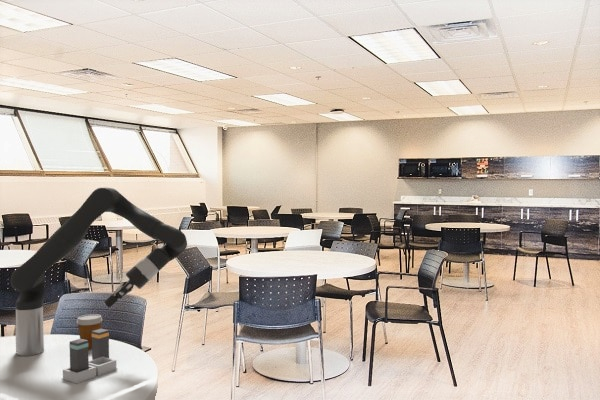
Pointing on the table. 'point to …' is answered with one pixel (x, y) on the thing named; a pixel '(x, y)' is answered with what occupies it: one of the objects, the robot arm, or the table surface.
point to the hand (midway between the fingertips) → (106, 304)
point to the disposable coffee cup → (88, 326)
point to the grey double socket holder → (90, 370)
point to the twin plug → (79, 355)
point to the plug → (100, 343)
